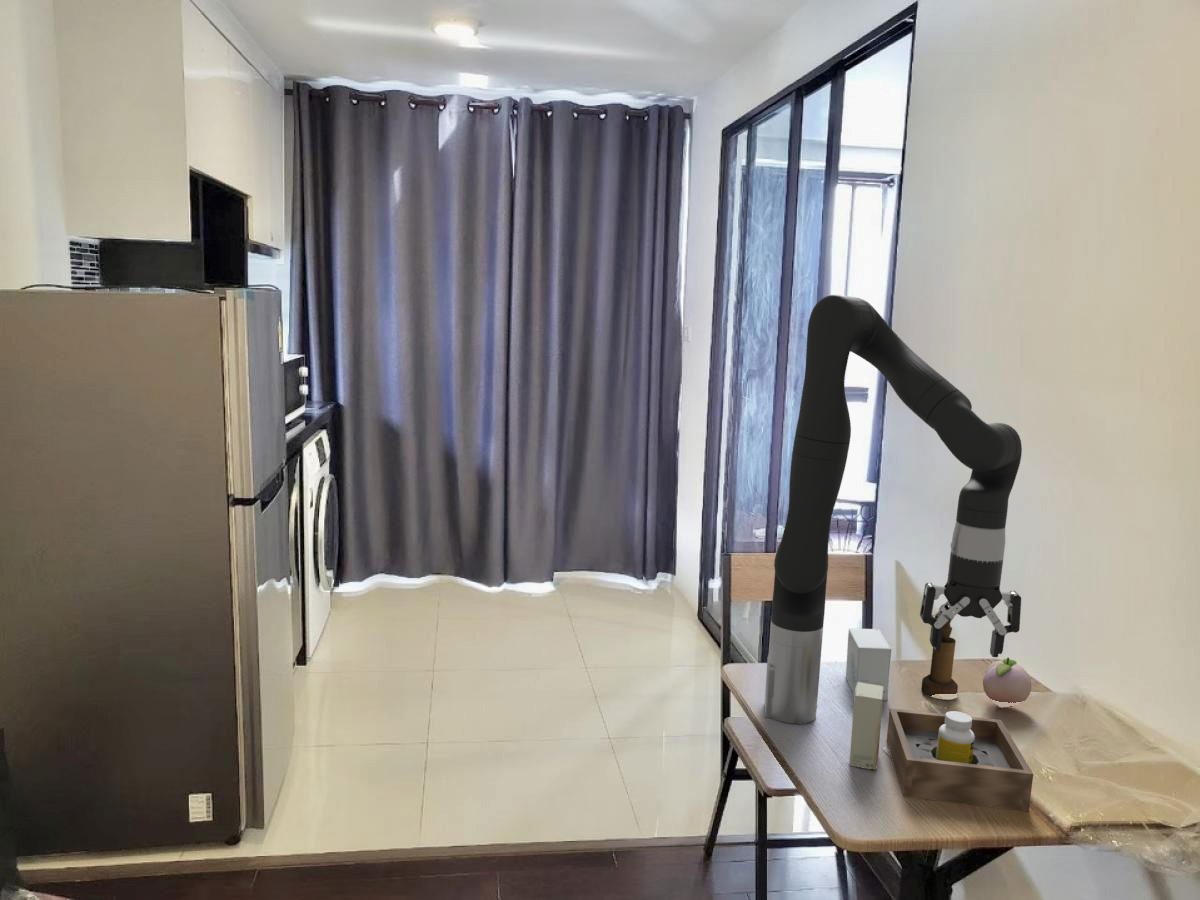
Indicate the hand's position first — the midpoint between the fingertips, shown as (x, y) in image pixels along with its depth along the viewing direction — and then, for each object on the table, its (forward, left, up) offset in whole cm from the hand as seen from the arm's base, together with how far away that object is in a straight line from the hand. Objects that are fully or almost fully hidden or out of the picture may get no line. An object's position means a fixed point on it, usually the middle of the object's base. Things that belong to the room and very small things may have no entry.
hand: (965, 652), depth 140 cm
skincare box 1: (-10, +31, -21) cm, 39 cm away
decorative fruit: (+15, +28, -21) cm, 38 cm away
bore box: (0, 0, -21) cm, 21 cm away
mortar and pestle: (+4, +32, -21) cm, 38 cm away
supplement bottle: (0, 0, -21) cm, 21 cm away
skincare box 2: (-14, +1, -21) cm, 25 cm away
